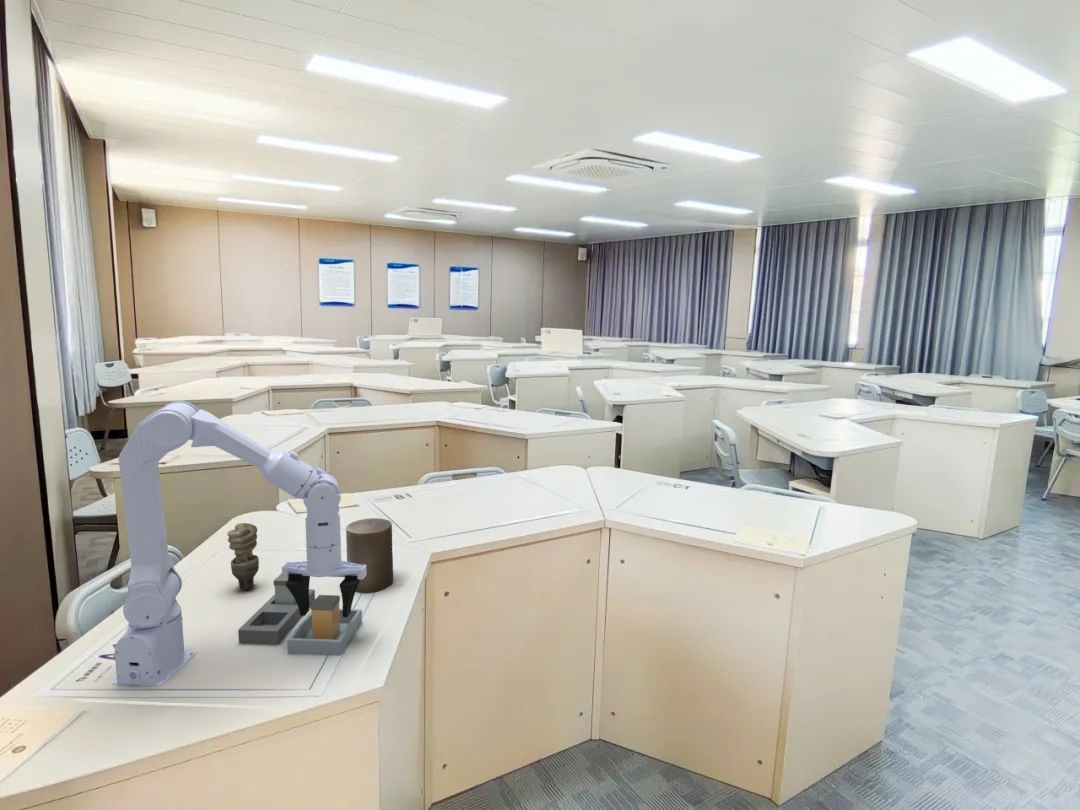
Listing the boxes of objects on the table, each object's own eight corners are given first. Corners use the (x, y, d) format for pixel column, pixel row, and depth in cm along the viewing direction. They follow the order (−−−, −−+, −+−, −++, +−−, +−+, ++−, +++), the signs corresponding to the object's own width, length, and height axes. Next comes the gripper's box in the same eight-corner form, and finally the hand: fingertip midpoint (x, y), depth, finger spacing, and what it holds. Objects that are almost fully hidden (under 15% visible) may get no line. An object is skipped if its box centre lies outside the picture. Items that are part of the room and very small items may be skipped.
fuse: (294, 615, 112) (293, 581, 111) (275, 614, 113) (273, 580, 112) (302, 605, 116) (301, 572, 115) (284, 605, 116) (282, 572, 115)
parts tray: (340, 658, 100) (340, 641, 99) (287, 656, 100) (286, 639, 99) (362, 624, 111) (361, 609, 110) (314, 622, 111) (313, 607, 111)
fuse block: (278, 647, 103) (277, 631, 102) (239, 645, 103) (238, 629, 102) (315, 603, 118) (314, 589, 118) (281, 602, 118) (280, 588, 118)
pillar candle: (401, 586, 127) (400, 520, 125) (359, 599, 120) (358, 530, 118) (379, 572, 134) (378, 509, 132) (339, 584, 127) (337, 518, 125)
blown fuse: (332, 642, 103) (331, 605, 102) (311, 641, 104) (310, 604, 103) (340, 631, 107) (339, 595, 106) (320, 630, 107) (319, 594, 106)
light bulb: (247, 599, 119) (244, 529, 117) (224, 596, 120) (220, 526, 118) (265, 587, 125) (262, 520, 123) (243, 584, 126) (239, 517, 124)
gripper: (371, 535, 106) (372, 604, 108) (293, 532, 107) (296, 601, 109) (358, 550, 99) (360, 624, 101) (274, 547, 100) (278, 621, 102)
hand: (325, 614), depth 105 cm, fingers open, 7 cm apart
